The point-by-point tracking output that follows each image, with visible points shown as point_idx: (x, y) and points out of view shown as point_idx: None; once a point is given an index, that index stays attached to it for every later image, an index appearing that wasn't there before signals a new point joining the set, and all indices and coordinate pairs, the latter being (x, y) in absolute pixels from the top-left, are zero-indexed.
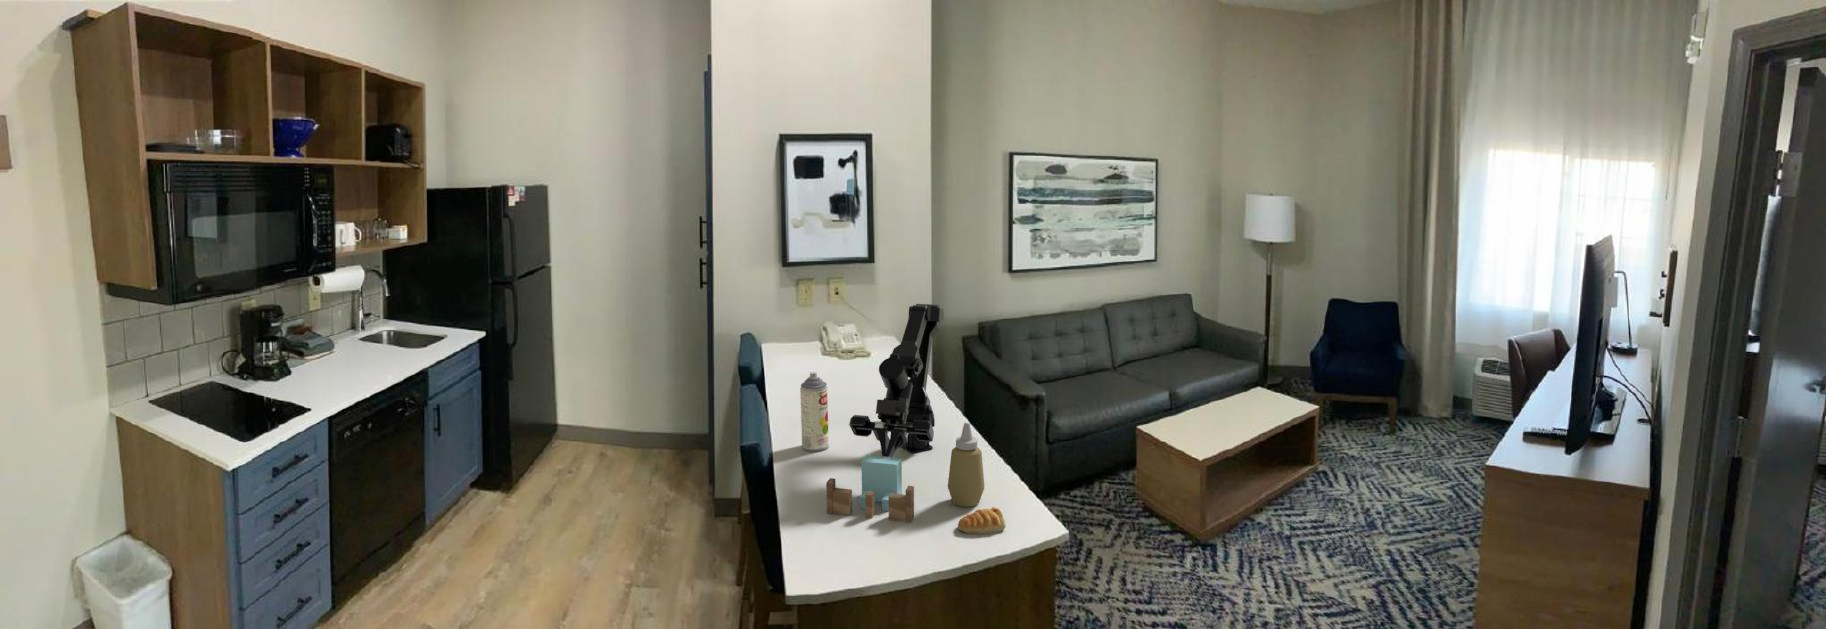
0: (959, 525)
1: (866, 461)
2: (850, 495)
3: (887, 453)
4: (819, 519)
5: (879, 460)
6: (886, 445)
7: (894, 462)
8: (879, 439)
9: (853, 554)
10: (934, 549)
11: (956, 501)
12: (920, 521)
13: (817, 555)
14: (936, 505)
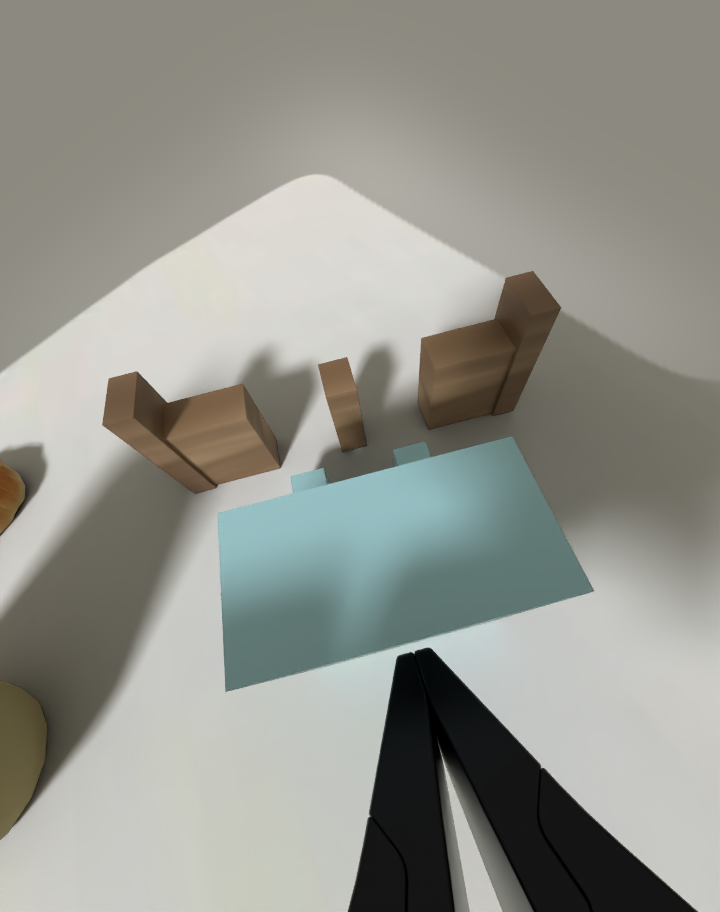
0: (5, 469)
1: (476, 453)
2: (426, 367)
3: (409, 717)
4: None
5: (392, 520)
6: (511, 895)
7: (253, 545)
8: (674, 894)
9: (283, 266)
10: (96, 361)
11: (7, 683)
12: (165, 478)
13: (356, 233)
14: (127, 646)
